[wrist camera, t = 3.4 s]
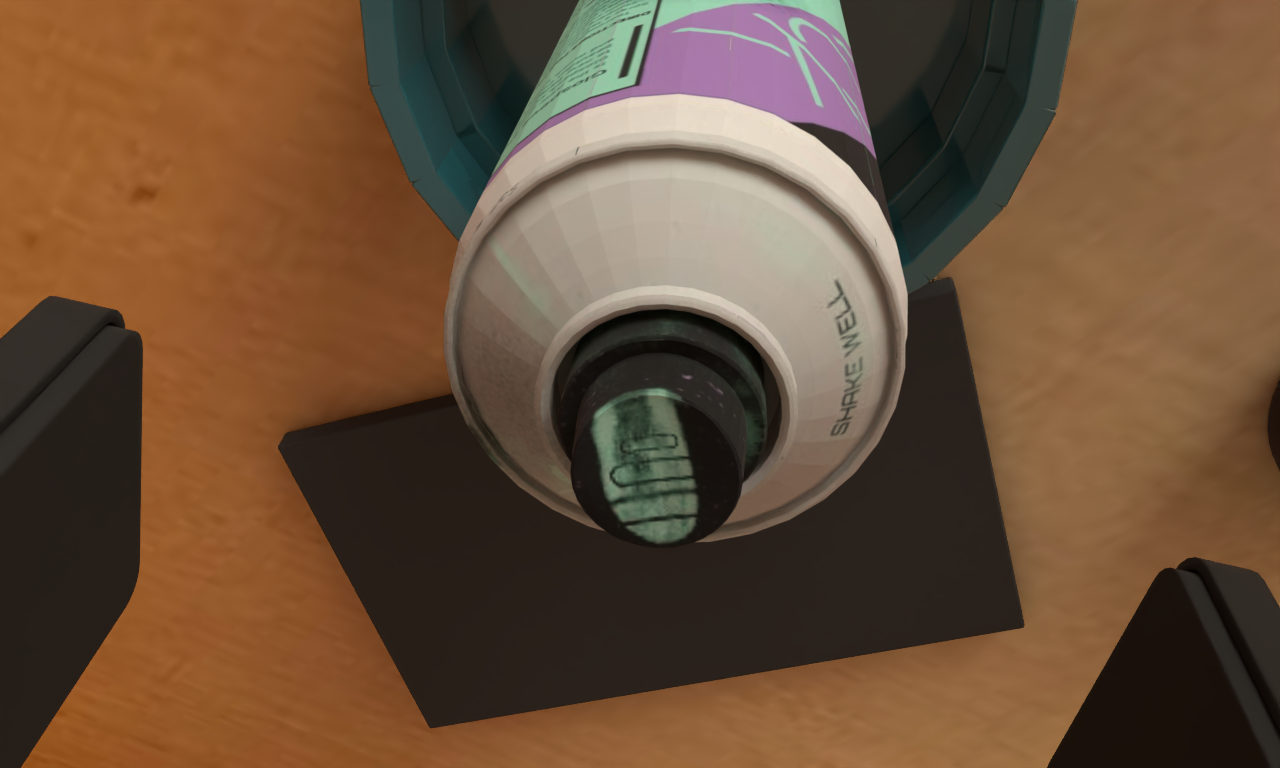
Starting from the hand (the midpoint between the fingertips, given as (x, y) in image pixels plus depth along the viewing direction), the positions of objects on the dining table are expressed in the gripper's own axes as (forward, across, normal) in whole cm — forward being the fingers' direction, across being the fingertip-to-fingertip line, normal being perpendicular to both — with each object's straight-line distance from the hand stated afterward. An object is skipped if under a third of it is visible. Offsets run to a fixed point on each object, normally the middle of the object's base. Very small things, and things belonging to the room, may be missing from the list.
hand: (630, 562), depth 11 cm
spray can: (+21, 0, 0) cm, 21 cm away
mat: (+22, -2, +16) cm, 27 cm away
